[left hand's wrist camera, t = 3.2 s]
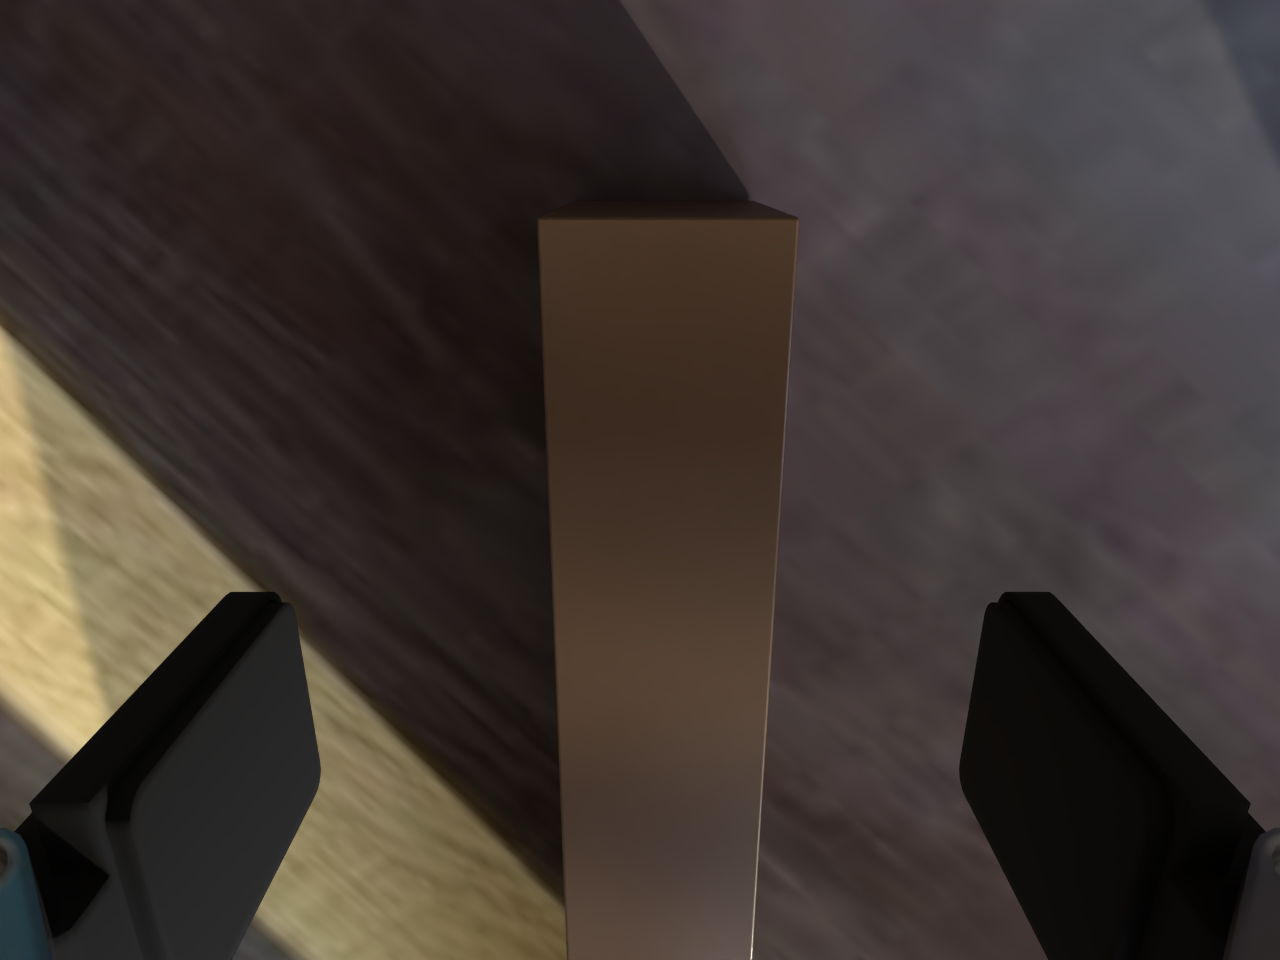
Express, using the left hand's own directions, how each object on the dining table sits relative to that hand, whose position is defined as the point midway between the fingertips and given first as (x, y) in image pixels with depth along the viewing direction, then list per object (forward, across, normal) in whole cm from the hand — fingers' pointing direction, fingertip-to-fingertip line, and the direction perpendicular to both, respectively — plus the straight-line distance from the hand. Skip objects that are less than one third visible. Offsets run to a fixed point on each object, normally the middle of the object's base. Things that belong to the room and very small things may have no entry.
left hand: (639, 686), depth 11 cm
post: (+12, +1, -34) cm, 36 cm away
